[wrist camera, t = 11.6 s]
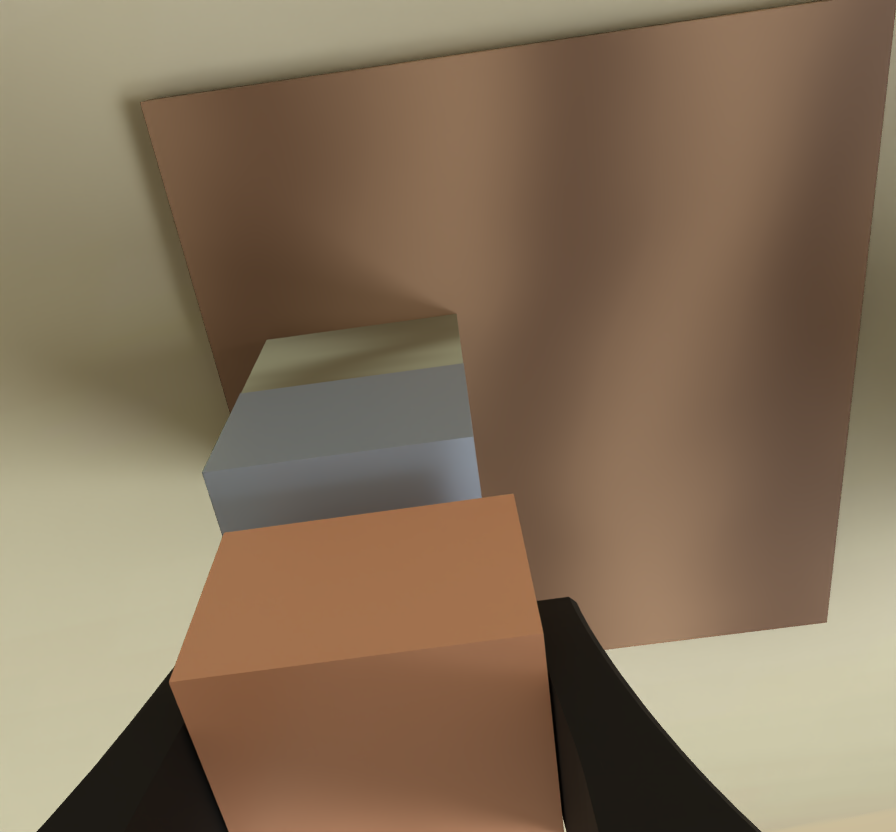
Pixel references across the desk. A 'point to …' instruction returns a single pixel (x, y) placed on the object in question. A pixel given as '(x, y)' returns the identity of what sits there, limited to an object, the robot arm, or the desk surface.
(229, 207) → the build board
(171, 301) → the desk surface
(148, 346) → the desk surface
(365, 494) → the brick slate
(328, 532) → the brick terracotta
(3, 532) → the desk surface
